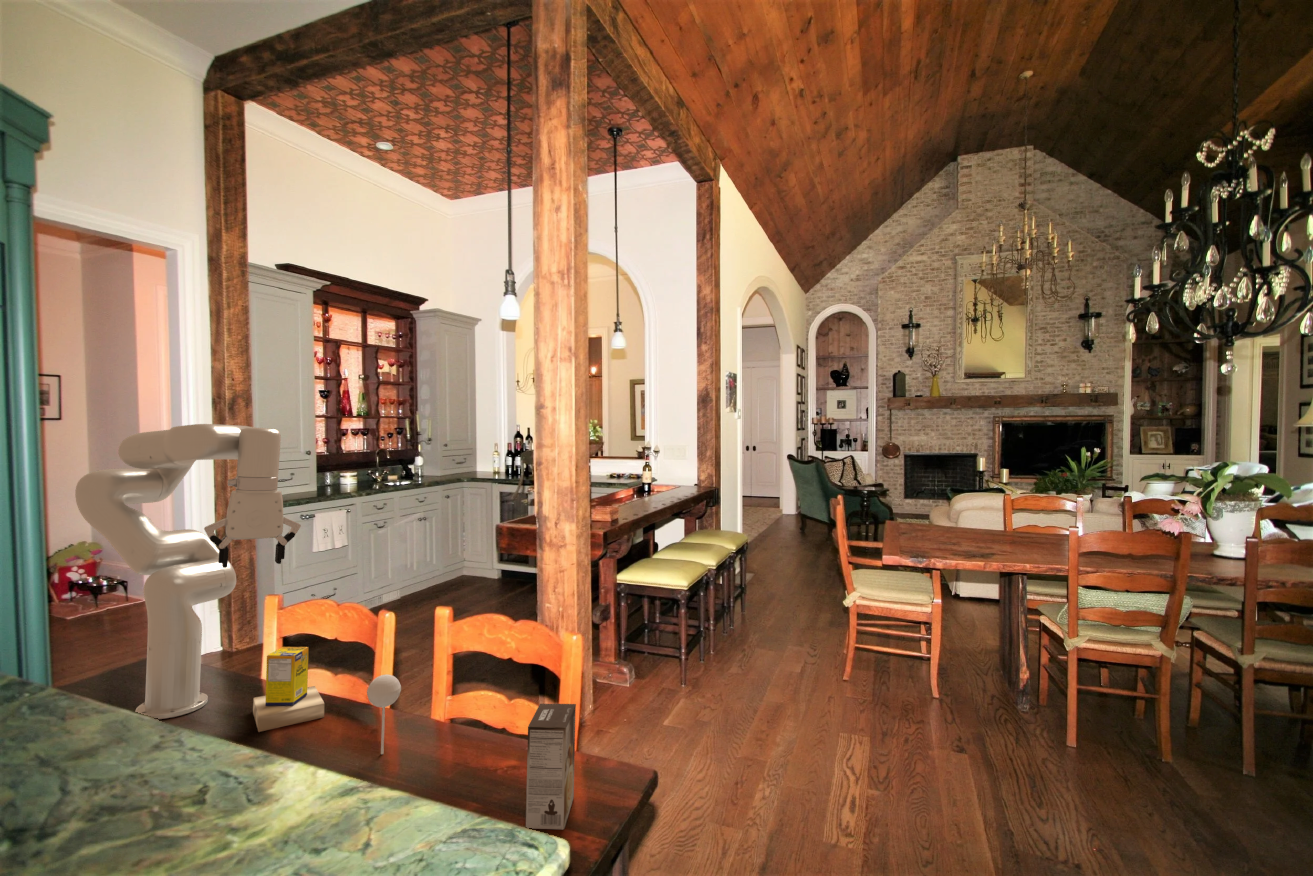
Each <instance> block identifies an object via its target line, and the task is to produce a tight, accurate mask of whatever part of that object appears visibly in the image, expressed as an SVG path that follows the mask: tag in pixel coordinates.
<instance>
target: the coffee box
mask: <svg viewBox="0 0 1313 876" xmlns="http://www.w3.org/2000/svg"><path fill="white" fill-rule="evenodd" d="M576 706H577V704H576V703H539V705H538V707H537V709H536V711H535V712H534V714H533V717H532V718H531V720H530V722H529V724H528V726H527V750H526V751H527V753H526V754H527V755H526V756H527V758H526V794H525V795H526V797H525V799H526V800H525V804H526V805H525V828H526V827H527V828H526V829H529V828H532V830H534V829H535V830H537V829H539V830H565V828H566V825H567V821H568V818H569V814H570V811H571V807H572V805H573V801H574V796H575V791H574V790H575V755H576V752H575V749H576V746H575V745H576V712H577V711H576Z"/></svg>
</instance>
